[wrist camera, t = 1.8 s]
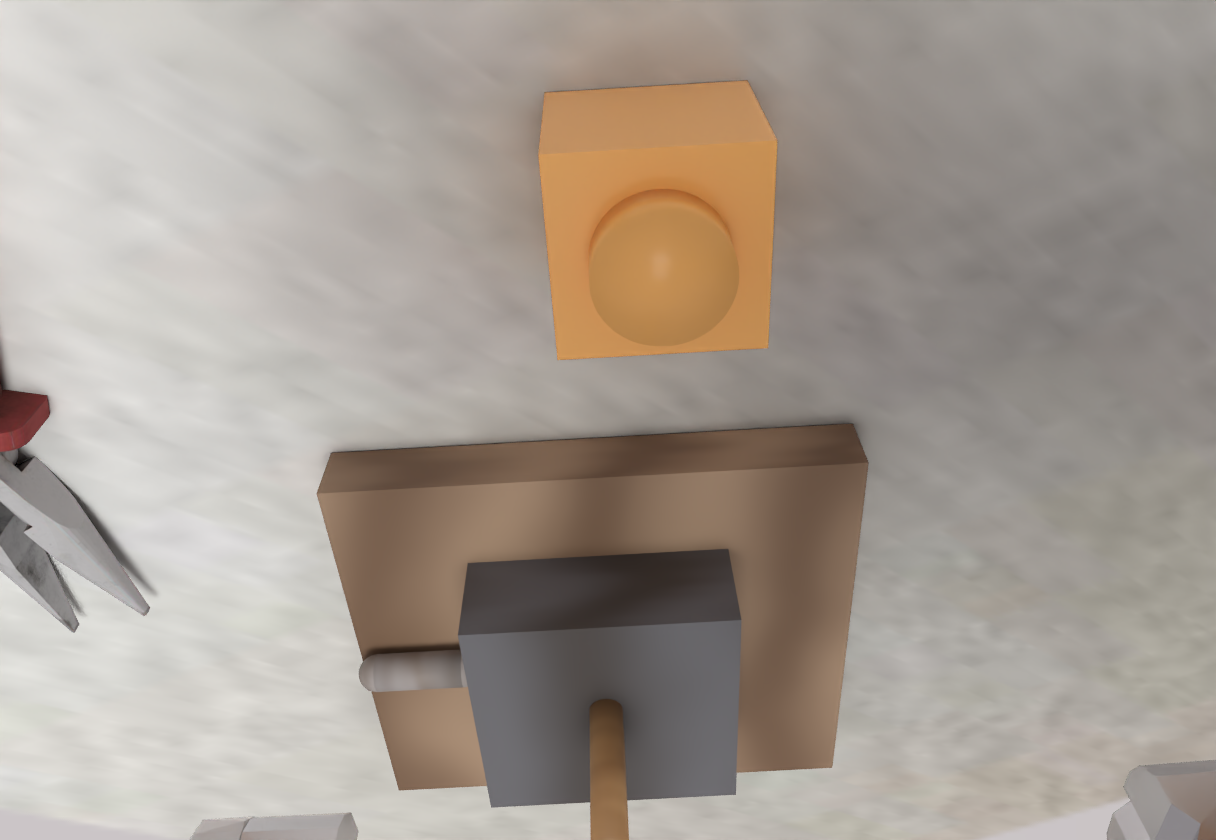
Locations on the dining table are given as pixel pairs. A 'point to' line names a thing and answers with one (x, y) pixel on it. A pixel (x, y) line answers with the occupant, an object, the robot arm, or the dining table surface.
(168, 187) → the dining table surface
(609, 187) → the orange knobbed cube
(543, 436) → the dining table surface
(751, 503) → the board
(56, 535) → the pliers
